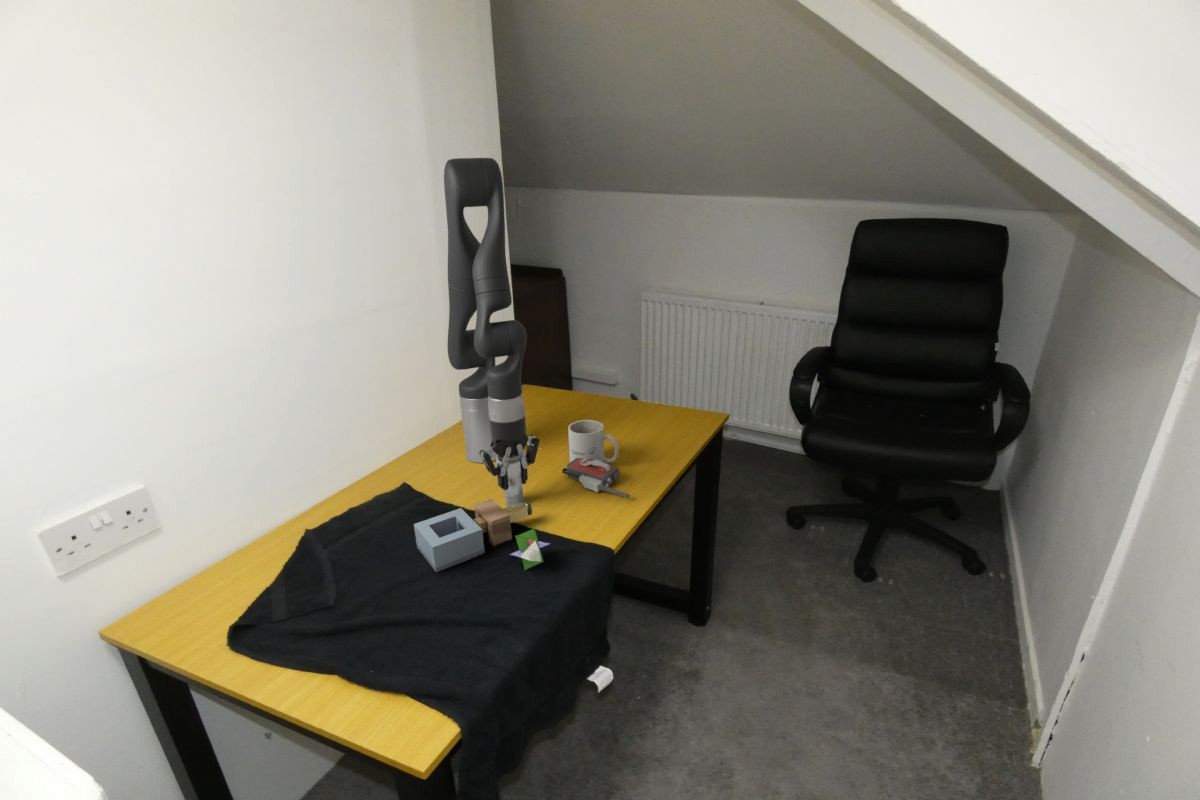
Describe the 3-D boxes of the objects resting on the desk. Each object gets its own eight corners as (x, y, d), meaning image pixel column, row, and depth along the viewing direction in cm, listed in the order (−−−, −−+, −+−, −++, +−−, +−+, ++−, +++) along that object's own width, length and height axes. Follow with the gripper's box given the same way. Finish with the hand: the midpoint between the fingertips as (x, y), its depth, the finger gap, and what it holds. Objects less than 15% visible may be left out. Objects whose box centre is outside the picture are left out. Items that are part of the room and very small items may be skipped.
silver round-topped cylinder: (500, 501, 147) (495, 453, 143) (519, 494, 150) (515, 447, 145) (510, 510, 143) (505, 460, 139) (529, 503, 146) (525, 454, 142)
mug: (563, 467, 162) (561, 430, 158) (581, 453, 169) (579, 417, 165) (607, 477, 156) (606, 439, 152) (623, 463, 163) (623, 426, 159)
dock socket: (417, 547, 131) (413, 524, 129) (463, 531, 136) (461, 508, 134) (436, 572, 123) (432, 547, 121) (484, 553, 128) (482, 529, 126)
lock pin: (474, 529, 133) (473, 517, 132) (525, 511, 140) (524, 498, 138) (480, 536, 131) (479, 523, 130) (532, 517, 137) (531, 504, 136)
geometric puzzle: (500, 548, 126) (510, 530, 120) (530, 535, 130) (541, 517, 124) (517, 580, 124) (528, 564, 118) (548, 566, 127) (560, 550, 122)
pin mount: (477, 529, 137) (474, 504, 135) (494, 522, 139) (491, 498, 137) (494, 546, 131) (491, 521, 128) (511, 539, 133) (509, 515, 130)
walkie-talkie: (556, 479, 155) (626, 504, 144) (554, 463, 154) (625, 487, 143) (578, 463, 162) (647, 486, 151) (577, 448, 160) (647, 469, 149)
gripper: (528, 401, 145) (533, 470, 152) (468, 416, 138) (476, 488, 144) (545, 411, 140) (549, 482, 146) (483, 428, 132) (491, 502, 138)
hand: (513, 485), depth 145 cm, fingers closed on silver round-topped cylinder, 4 cm apart
